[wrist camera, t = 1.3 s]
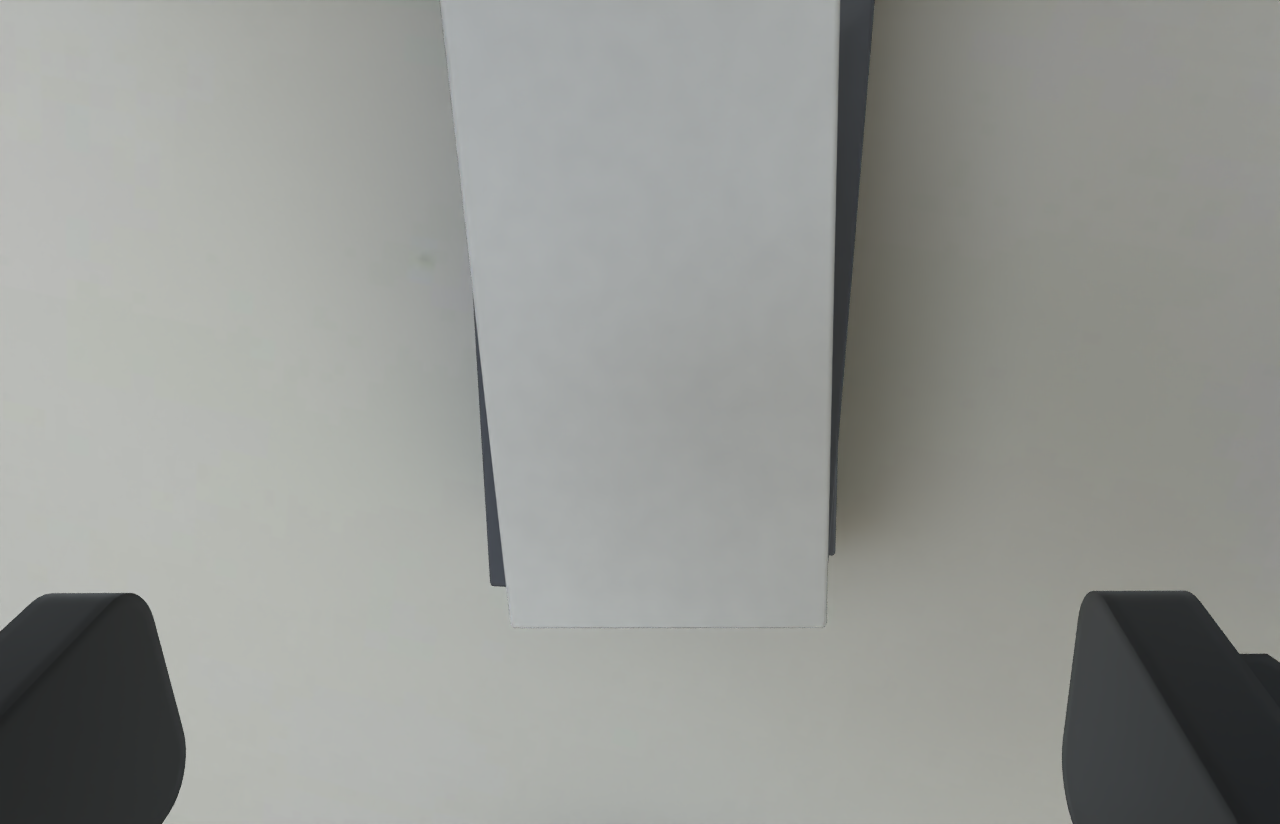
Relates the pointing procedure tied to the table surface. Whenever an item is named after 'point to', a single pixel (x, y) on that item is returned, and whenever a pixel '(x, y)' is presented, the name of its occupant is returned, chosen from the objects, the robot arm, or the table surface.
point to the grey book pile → (849, 155)
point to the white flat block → (653, 301)
